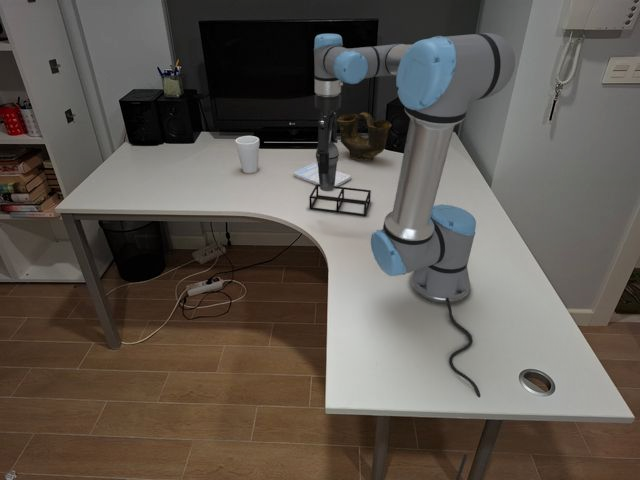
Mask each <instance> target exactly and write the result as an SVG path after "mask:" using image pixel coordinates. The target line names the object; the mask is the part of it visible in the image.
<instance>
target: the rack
mask: <svg viewBox="0 0 640 480" xmlns="http://www.w3.org/2000/svg"><path fill="white" fill-rule="evenodd" d="M319 188H320V184H317V185H316V184H315V186H314V188H313V189H312V191H311V193H310V195H309V198H308V199H309V210H312V211H319V212H320V211H321V212H327V213H328V212H329V213H337V214H344V215H352V216H359V217H366V216H367V214H368V210H369V207H370V205H371V196H372V195H371V194H372V193H371V192H372V191H371V189H362V188H356V187H355V188H354V187H345V186H334V189H335V190H336V189H337V190H340V192H339V194H338V196H337V197H336V196H327V195H319ZM345 190H346V191H355V192H363V193H367V194H366V198H365V200H362V199H360V200H359V199H353V198H345ZM314 194H316V195H314ZM312 199H313V201H312ZM317 200H322V201H330V202H331V201H332V202H336V205H335V206H336V208H335V209H328V208H321V207H314V206H315V204H316V202H317ZM343 203H348V204H356V205H362V206H363V205H364V207H363V213H361V212H352V211H345V210H340V209H341V207H342V205H343Z"/></svg>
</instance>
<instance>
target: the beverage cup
mask: <svg viewBox="0 0 640 480" xmlns="http://www.w3.org/2000/svg"><path fill="white" fill-rule="evenodd" d="M331 131H332V130H331ZM331 131H330V135H329V146H328V153H329V174H322V173H320V154H317V151H318V146H316V147H317V148H316V151H315V158H316V162H317V164H318V173H319V184H320V187H319V188H320V190H321V191H323V192H332V191H334V189H335V188H334V185H335V177H336V170H337V167H338V161H339V156H340V153H339V148H338V146H337V145H336V143H333V142H330V140H331Z"/></svg>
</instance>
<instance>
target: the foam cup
mask: <svg viewBox="0 0 640 480" xmlns="http://www.w3.org/2000/svg"><path fill="white" fill-rule="evenodd" d="M234 143H235V147H236V151H237V154H238V159H239V163H240V166H241V169H242V172H243V173H245V174H246V173H247V174H253V173H256V172H257V171H258V169H259V158H260V157H259V153H260V138H259V137H257V136H253V135H243V136H239V137H237V138H235V142H234Z"/></svg>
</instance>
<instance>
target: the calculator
mask: <svg viewBox="0 0 640 480" xmlns="http://www.w3.org/2000/svg"><path fill="white" fill-rule="evenodd" d="M293 175H294V177H295V178H298V179H301V180H303V181H306V182H308V183H310V184H313V185H315V186H316V185H317V184H319V173H318V163H316V162H313V163H311V164H308V165H307V166H304V167H301V168H300V169H298V170H295V171H294V172H293ZM351 178H352V176H351V174H347V173H345V172H342V171H339V170H337V169H336V177H335V185H334V186H337V187H340V186H341V185H343V184H345V183H347V182H348V181H350V180H351Z"/></svg>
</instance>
